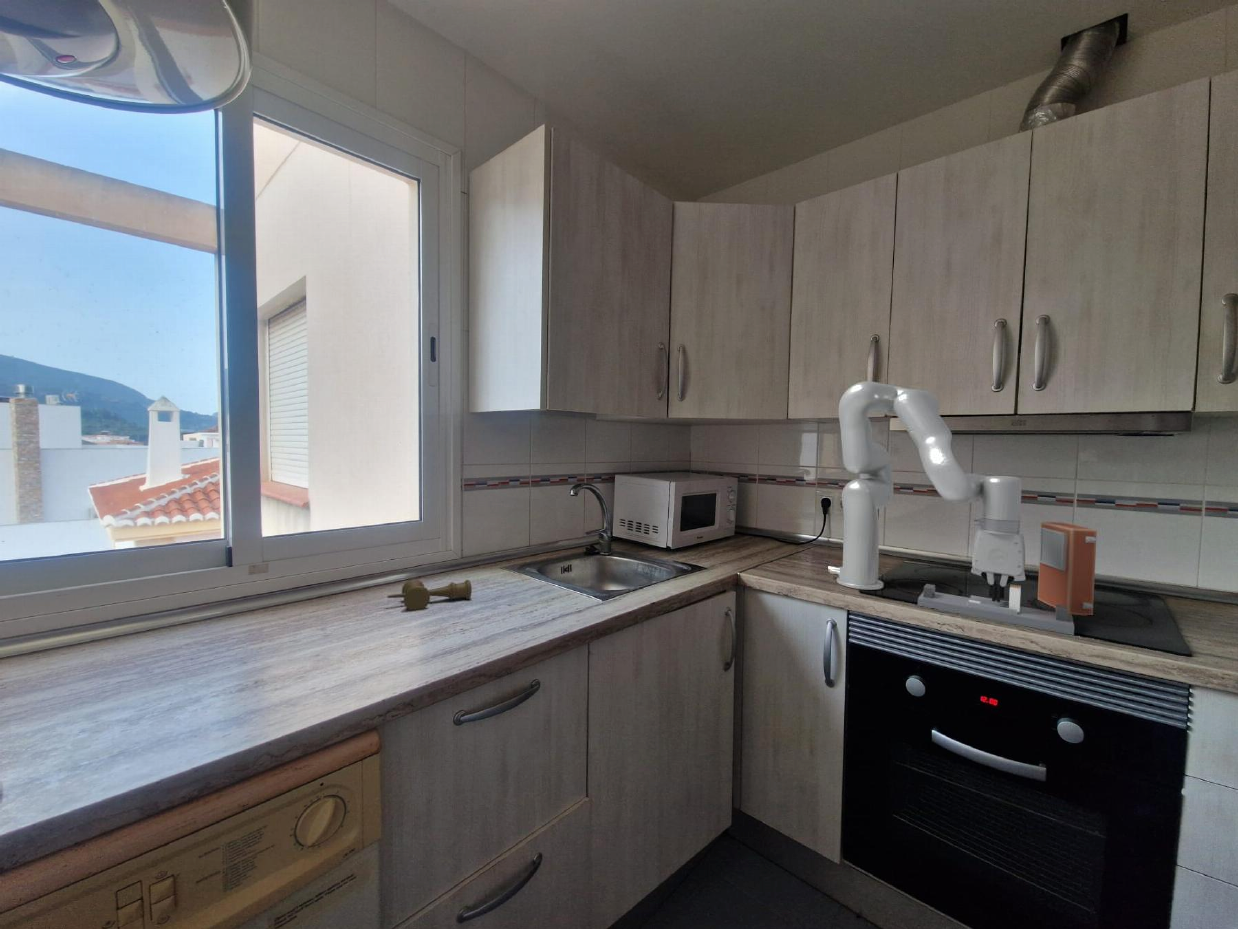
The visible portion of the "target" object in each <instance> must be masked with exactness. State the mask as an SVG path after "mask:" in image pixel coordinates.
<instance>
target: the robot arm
mask: <svg viewBox="0 0 1238 929" xmlns="http://www.w3.org/2000/svg"><path fill="white" fill-rule="evenodd" d="M939 410H940V402H939V399H938V397H937V396H936V395H935V394H933V393H931V392H930V391H928V390H922V389H921V390H920V389H916V388H914V389H913V388H912V389H910V388H908V387H907V388H906V387H902V386H896V385H890V384H888V383H887V384H886V383H880V382H876V381H870V380H868V381H866V380H865V381H860V382H858V383H855V384H853V385H852V386H850V387H849V388H848V389H846V391H845V392H844V393H843V395H842V396H841V398H840V400H839V404H838V420H839V426H840V439H841V440H840V441H841V449H842V461H843V466H844V468H845V469H846V470H847V472H850V473H851V474H853V475H854V474H857V475H859V478H855V479H853V480H850V481H849V482H847V483H846V484H845V485H844V487H843V489H842V492H841V504H842V510H843V511H842V512H843V543H842V545H843V548H842V550H843V551H842V566H839V567H837V566H833V565H829V566H828V569H827V570H828V572H829V574H833V575H838V576H837V577H836V582H837V583H838V584H839V585H840V586H844V587H847V588H852V589H855V590H856V589H857V590H868V591H870V590H871V591H872V590H874V591H875V590H881V589H883V588H884V582H883V581H881V580H879V555H880V554H879V553H880V550H879V549H880V548H879V547H880V521H879V520H880V519H879V514H878V510H879V509H883V508H885V507H888V505H890V503H892V501H893V497H894V482H893V480H894V479H893V471H892V463H891V462H892V461H891V457H890V454H889V452H888V450H887V449H886V448H885V446H883V445H881V444H879V443H877V442H874V437H873V436H874V435H873V427H872V424H871V423H872V422H871V420H870V418H869V412H874V413H881V414H887V415H891V416H896V417H898V418H899V420H900V422H901V424H902V426H903V427H904V428H905V430H906V431H907V433H908V434H909V436H910V438H911V440H912V441H913V442H914V444H915V446H916V448H917V449H918V454H919V458H920V460H921V464H922V468H923V469H924V471H925V473H926V475H927V477H928V479H929V481H930V482H931V483H932V486H933V487H934V488H935V490H936V491H937V493H938V494H939V495H940V496H941V497H942V498H943V499H944V500H945V501H947V502H949V503H951V504H955V505H957V504H958V505H961V504H969V503H981V513H980V514H981V517H980V518H978V519H975V518H974V520H973V525H974V526H979V527H980V529H979V528H978V529H976V532H975V536H974V540H973V546H972V547H973V550H972V557H971V558H972V559H971V560H972V562H971V565H972V567H971V570H970V573H972V574H974V575H977V576H980V577H982V578H983V579H984V580H985V581H986V582H987V583H988V584H989V585H988V586H989V588H988V597H991V599H992V601H994V602H995V601H997V602H1000V600H1001V599H1003V600H1004V599H1005V592H1006V590H1005V589H1006V586H1007V585H1009V584H1011V583H1013V582H1014V581H1015V582H1018V581H1019V582H1023V581H1026V575H1025V573H1026V572H1025V568H1026V545H1025V538H1024V534H1023V533H1020V528H1021V527H1020V525H1021V508H1022V507H1021V506H1022V505H1021V504H1022V485H1023V484H1022V480H1021V479H1020V477H1017V476H1012V475H1010V476H1009V475H984V474H979V473H969V472H967V473H966V472H964V471H963V469H962V467H961V466H960V464H959V463H958V461H957V460H956V458H955V456H954V453H953V451H952V446H951V445H952V444H951V443H952V439H953V436H952V435H953V434H952V432H951V430H950V428H949V427H948V426H947V424H946V423H945V421H944V419H943V418H942V417H941V415H940V414H939ZM995 574H996V575H1001V578H1000V580H999V581H998V584H997V581H996V580H995Z"/></svg>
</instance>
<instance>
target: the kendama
mask: <svg viewBox="0 0 1238 929" xmlns="http://www.w3.org/2000/svg"><path fill="white" fill-rule="evenodd" d="M472 591H473V588H472V583H471V581H470V580H469V579H466V580H464V581H463V582H459V583H455V582H450V583H449V584H448V585H444V586H441V587H437V588H432V589H428V587H425V584H424V583H423V582H422V581H421V580H419V579H410V580H407V582H406V581H405V583H404V584H403V586H402V588H401V593H395V594H390V595H387V597H386V598H388V599H398V598H402V599H403V603H404V606H405V608H406V609H407V610H409V611H412V612H413V611H420V610H421V611H422V610H423V609H425V608H427V606H428V605H429V603H430V600H431V597H444V598H449V599H451V600H454V599H456V598H463V599H466V600H470V599H471V597H472Z"/></svg>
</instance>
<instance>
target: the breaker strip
mask: <svg viewBox="0 0 1238 929" xmlns="http://www.w3.org/2000/svg"><path fill="white" fill-rule="evenodd" d="M918 605H919V606H918ZM917 606H918V607H920V606H925V607H928V608H927V609H930V608H935V609H934V610H936V609H938V610H937V611H942V612H946V611H948V613H953V614H957V613H959V614H958V615H962V616H969V617H975V618H978V619H979V618H980V619H985V620H988V621H989V620H990V621H995V622H1000V623H1006V624H1011V625H1018V626H1022V627H1028V628H1032V629H1033V628H1034V629H1039V630H1043V631H1050V632H1055V633H1060V634H1065V635H1070V636H1074V635H1075V623H1074V618H1073V615H1072V614H1068V608H1067V606H1062V605H1056V608H1055V611H1050V610H1044V609H1039V608H1034V607H1025V606H1021V605H1020V612H1017V610H1016V609H1010V608H1009V600H1008V601H1007V600H1000V602H997V601H995V602H994V601H992V598H989V597H982V596H979V595H977V596H976V595H972V594H971V595H970V596H969V597H966V596H960V595H955V594H949V593H942V592H937V591H936V584H929V583H926V584H925V585H924V586H923V591H922V593H921V594H920V595H919V596H918V598H917ZM925 607H924V608H925Z"/></svg>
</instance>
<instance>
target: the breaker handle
mask: <svg viewBox="0 0 1238 929" xmlns="http://www.w3.org/2000/svg"><path fill="white" fill-rule="evenodd" d="M1009 584H1010V585H1009V593H1008V594H1009V596H1008V597H1009V600H1008V602H1009V608H1010V609H1016V610H1017V612H1020V606H1021V594H1022V591H1021V590H1022V585H1017V584H1011V583H1009Z"/></svg>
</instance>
